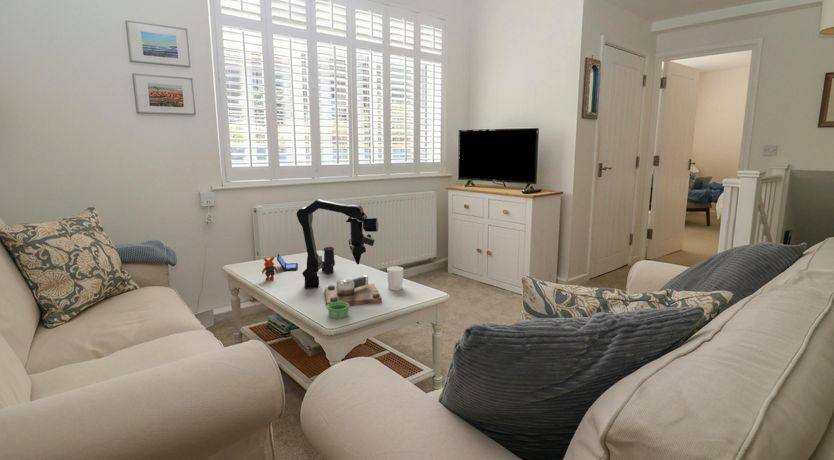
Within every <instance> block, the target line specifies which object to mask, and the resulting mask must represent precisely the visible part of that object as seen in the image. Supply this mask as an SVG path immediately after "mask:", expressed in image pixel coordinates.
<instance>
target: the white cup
mask: <svg viewBox="0 0 834 460" xmlns="http://www.w3.org/2000/svg"><path fill="white" fill-rule="evenodd" d="M386 271H387V273H386V275H387V284H388V285H387V286H388V289H389V290H391V291H400V290H402V288H403V281H404V280H403V279H404V267H402V266H396V265H395V266H394V265H393V266H388V267H387V268H386Z"/></svg>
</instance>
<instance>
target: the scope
mask: <svg viewBox="0 0 834 460" xmlns="http://www.w3.org/2000/svg"><path fill="white" fill-rule="evenodd" d="M334 250H335V248H334V247H332V246H327V247H324V248H323V251H324V252H323V260H322V261H323V264H322V267H321V268H320V269H321V272H324V273H326V274H327V275H332V274H334V266H335V265H336V262H335V260H336V259H335V252H334Z"/></svg>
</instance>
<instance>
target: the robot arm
mask: <svg viewBox="0 0 834 460" xmlns="http://www.w3.org/2000/svg"><path fill="white" fill-rule="evenodd" d="M319 209H321V210H325V211H331V212H336V213H340V214H343V215H345V216H347V217H348V219H347V220H346V221H345V222H346V223H350V232H349V235H350V238H349V240H348V246H349V249H350V252H351V254H352V256H353V259H354V261H355V264H356V265H360V262H361V261H360V260H361V257H362V254H364V253H366V252H367V248H366V246H365V244H366V245H368V246H370V247H373V246H374V243H375V241H376V240H375V238H374V237H372V235H371V234H369V232H371V233H372V232H373V233H377V232H379V221H378V217H368V216H367V214H366V213H365V212H364V209H363V207H362V206H361V205H360V204H354V203H353V204H343V203H338V202H333V201H330V200H329V201H327V200H325V199H324V200H323V199H320V198H319V199H315V200H314V201H313V202H312V203H310V204H309V205H308V206H304V207H300V208H299V209H298V210H297V212H296V217H297V220H298V223H299V224H300V226H301V228H302V233H303V237H304V242H305V243H304V244H305V249H306V253H307V254H306V255H307V257H306V268H305V269H304V271H303V272H302V276H303V278H304V289H317V288H319V286H320V276H319V275H318V272H319V270H320V269H322V268H321V267H322V264H323V261H324V260H323V256H322V255H319V254H318V252H317V248H316V247H317V246H316V241H315V236H314V230H313V220H314V214H313V213H315V212H316V211H318V210H319ZM364 231H365V232H366V233H367V232H368V233H367V234H365V235H364Z"/></svg>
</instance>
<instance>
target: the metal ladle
mask: <svg viewBox="0 0 834 460" xmlns="http://www.w3.org/2000/svg"><path fill="white" fill-rule="evenodd" d="M367 284H369V275H365V274H364V275H361V276H359V277H356V278H352V279H340V280H337V281H336V287H337V294H338V295H343V296H346V295H352V294H354V288H357V287H360V286H363V285H367Z"/></svg>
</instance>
